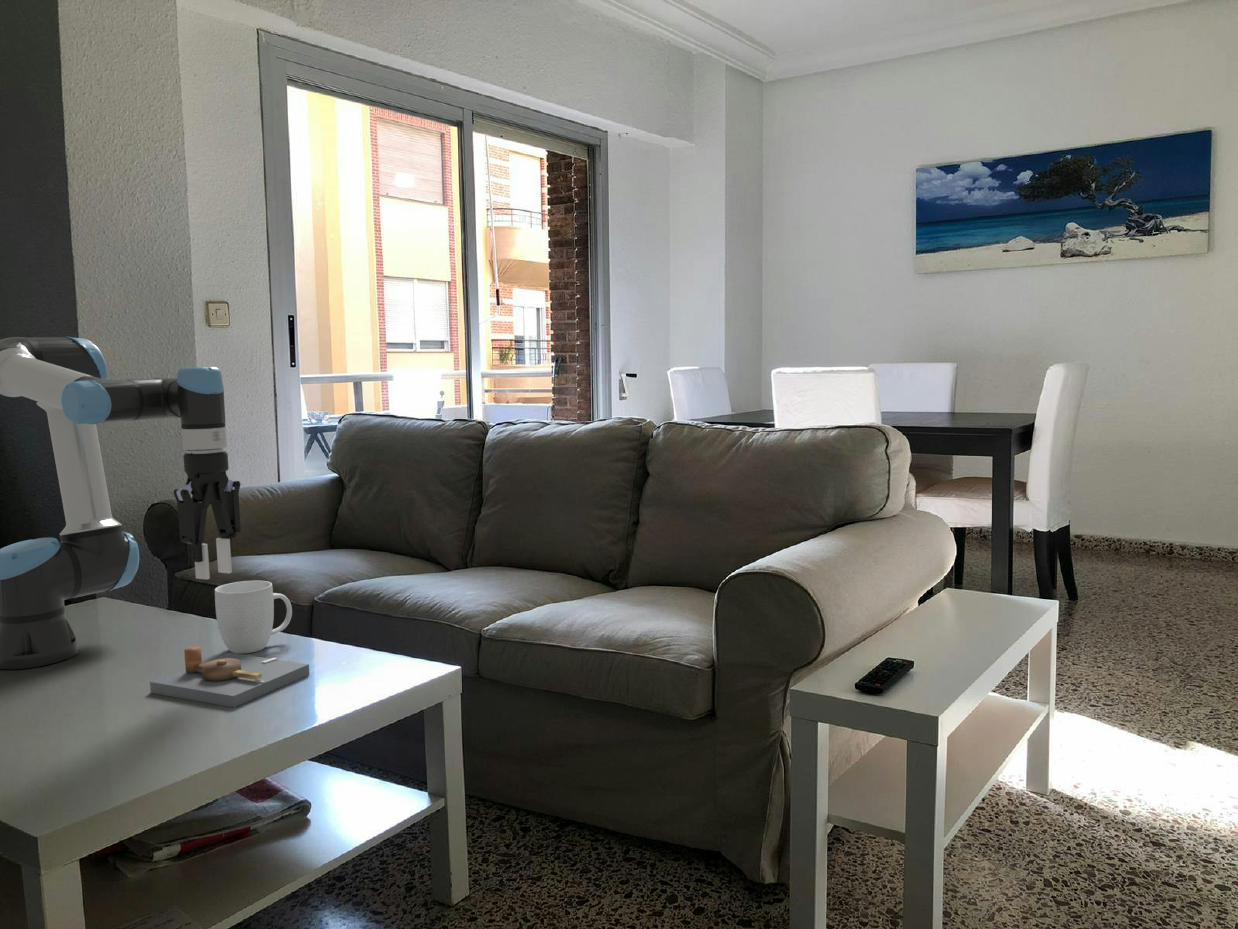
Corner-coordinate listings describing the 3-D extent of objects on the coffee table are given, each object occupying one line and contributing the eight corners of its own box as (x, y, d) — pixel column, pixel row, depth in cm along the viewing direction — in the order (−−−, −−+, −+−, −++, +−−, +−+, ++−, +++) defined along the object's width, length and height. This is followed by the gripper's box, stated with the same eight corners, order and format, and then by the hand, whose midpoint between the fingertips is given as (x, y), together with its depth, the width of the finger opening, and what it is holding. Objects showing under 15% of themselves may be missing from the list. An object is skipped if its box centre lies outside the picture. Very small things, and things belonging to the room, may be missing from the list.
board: (150, 692, 171) (149, 680, 171) (230, 662, 187) (229, 651, 187) (234, 707, 163) (233, 694, 162) (309, 674, 179) (309, 662, 179)
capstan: (174, 674, 174) (172, 653, 173) (202, 664, 179) (201, 643, 179) (245, 686, 166) (243, 664, 166) (272, 675, 172) (271, 653, 172)
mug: (283, 634, 206) (279, 574, 205) (303, 645, 198) (299, 583, 196) (211, 649, 197) (206, 586, 195) (228, 661, 188) (224, 595, 187)
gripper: (180, 456, 167) (190, 587, 170) (256, 447, 183) (264, 567, 186) (150, 455, 170) (159, 584, 173) (227, 446, 186) (235, 564, 189)
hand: (214, 575), depth 179 cm, fingers open, 4 cm apart
